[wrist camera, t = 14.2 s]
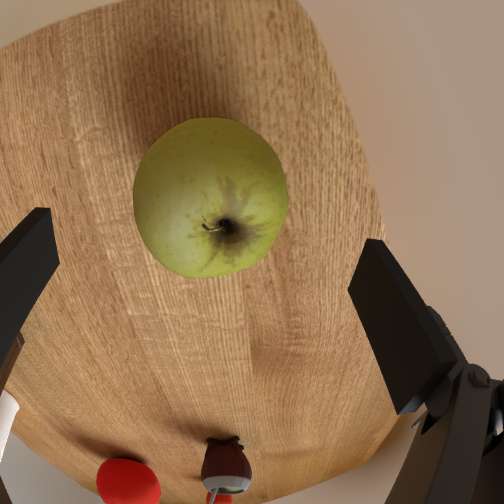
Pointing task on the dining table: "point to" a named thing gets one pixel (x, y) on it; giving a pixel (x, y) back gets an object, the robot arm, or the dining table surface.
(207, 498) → the fruit
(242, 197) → the apple
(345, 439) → the dining table surface
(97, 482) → the tomato
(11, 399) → the mug
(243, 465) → the mate gourd
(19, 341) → the chest
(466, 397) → the robot arm
